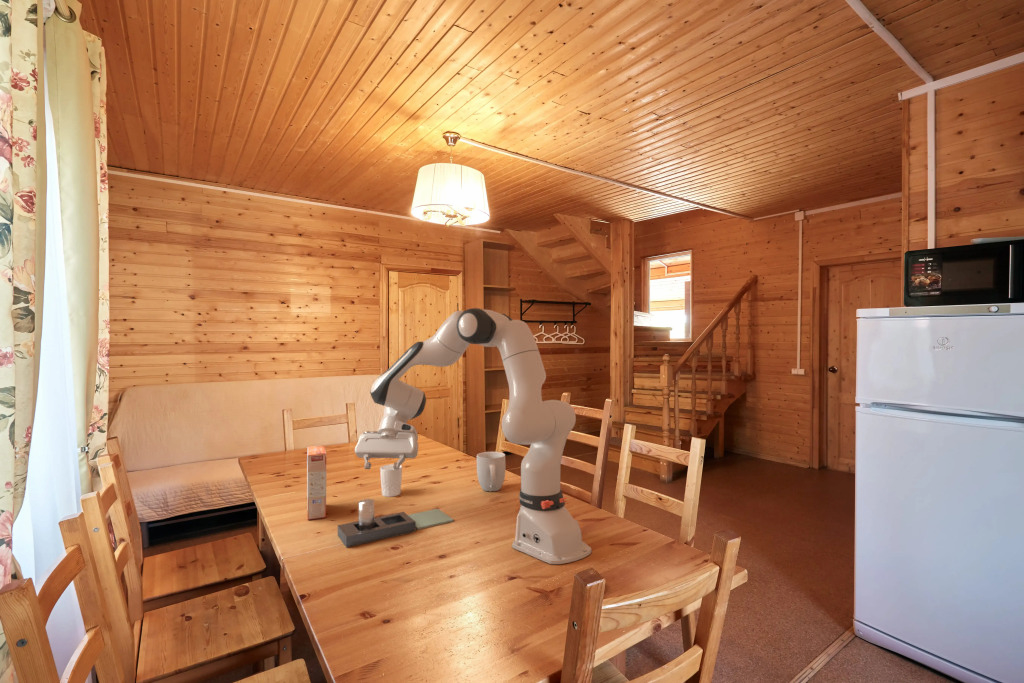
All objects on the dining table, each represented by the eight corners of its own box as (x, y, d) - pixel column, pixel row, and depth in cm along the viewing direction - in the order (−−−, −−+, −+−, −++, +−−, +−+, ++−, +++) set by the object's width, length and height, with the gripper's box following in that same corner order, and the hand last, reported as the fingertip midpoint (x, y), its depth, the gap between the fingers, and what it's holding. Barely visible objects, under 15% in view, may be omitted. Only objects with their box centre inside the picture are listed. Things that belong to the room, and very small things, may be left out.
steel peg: (376, 536, 141) (376, 502, 141) (361, 540, 139) (360, 505, 139) (371, 531, 145) (371, 498, 145) (356, 535, 143) (356, 500, 143)
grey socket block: (415, 531, 145) (415, 521, 145) (346, 547, 134) (346, 536, 134) (403, 521, 153) (403, 511, 153) (337, 535, 142) (337, 525, 142)
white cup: (399, 497, 177) (399, 469, 177) (377, 497, 177) (377, 469, 177) (404, 490, 185) (404, 464, 185) (383, 490, 185) (383, 464, 185)
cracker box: (327, 518, 157) (326, 452, 157) (307, 520, 154) (306, 454, 154) (326, 504, 170) (325, 444, 170) (307, 507, 167) (306, 446, 167)
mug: (508, 496, 177) (508, 460, 177) (478, 497, 175) (478, 461, 175) (503, 484, 192) (503, 450, 192) (475, 485, 190) (475, 452, 190)
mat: (453, 521, 153) (453, 519, 153) (417, 529, 146) (417, 527, 146) (437, 510, 163) (437, 508, 163) (403, 517, 156) (403, 515, 156)
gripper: (358, 426, 162) (346, 462, 153) (418, 426, 161) (410, 463, 151) (364, 436, 167) (352, 473, 157) (422, 437, 165) (414, 474, 155)
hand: (381, 468), depth 154 cm, fingers open, 8 cm apart
